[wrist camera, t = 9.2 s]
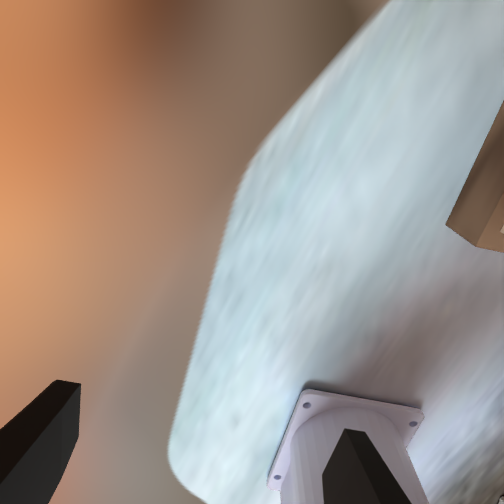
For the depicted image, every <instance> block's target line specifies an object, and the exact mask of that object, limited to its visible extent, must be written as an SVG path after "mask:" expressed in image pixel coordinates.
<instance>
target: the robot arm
mask: <svg viewBox="0 0 504 504" xmlns="http://www.w3.org/2000/svg"><path fill="white" fill-rule="evenodd" d="M80 394H81V384H80V383H74V382H68V381H62V380H56V381H54V382H52V383H51V384H50V385H49V386H48V387H47V388H46V389H45V390H44V391H43V392H42V393H40V394H39V395H38V396H37V397H36V398H35V399H34V400H33V401H32V402H31V403H30V404H29V405H27V406H26V407H25V408H24V409H23V410H22V411H21V412H19V413H18V414H17V415H16V416H15V417H14V418H13V419H12V420H10V421H9V422H8V423H7V424H6V425H5V426H4V427H2V428H1V429H0V504H48V503H49V501H50V499H51V497H52V496H53V494H54V492H55V490H56V488H57V486H58V484H59V482H60V480H61V478H62V476H63V473H64V471H65V469H66V466H67V464H68V461H69V459H70V457H71V454H72V452H73V449H74V447H75V444H76V442H77V439H78V436H79V415H80ZM306 402H309V403H306ZM423 419H424V414H423V412H422V411H421V410H420V409H418V408H413V407H407V406H402V405H396V404H391V403H385V402H379V401H374V400H368V399H363V398H357V397H351V396H346V395H340V394H335V393H329V392H323V391H318V390H312V389H307V390H304V391H302V393H301V394H300V397H299V399H298V402H297V405H296V407H295V410H294V412H293V415H292V417H291V420H290V422H289V425H288V428H287V430H286V433H285V435H284V438H283V440H282V443H281V445H280V448H279V450H278V453H277V456H276V458H275V461H274V463H273V466H272V468H271V471H270V473H269V476H268V479H267V487H268V488H269V489H270V490H275V491H280V496H281V504H429V502H428V500H427V497H426V495H425V493H424V490H423V488H422V486H421V483H420V481H419V478H418V476H417V474H416V471H415V469H414V467H413V464H412V462H411V459H410V457H409V455H408V452H407V450H406V447H407V446H408V444H409V442H410V441H411V439H412V437H413V436H414V434H415V432H416V431H417V429H418V428H419V426H420V424H421V423H422V421H423Z"/></svg>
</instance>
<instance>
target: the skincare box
mask: <svg viewBox="0 0 504 504" xmlns="http://www.w3.org/2000/svg"><path fill="white" fill-rule="evenodd" d="M498 504H504V496H502V497H500V500H499V503H498Z"/></svg>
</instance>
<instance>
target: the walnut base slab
mask: <svg viewBox="0 0 504 504" xmlns="http://www.w3.org/2000/svg"><path fill="white" fill-rule="evenodd" d="M445 225H446V226H448V227H449V228H451V229H452V230H453V231H455V232H456V233H457V234H459V235H460V236H461V237H463V238H464V239H466V240H467V241H468V242H470V243H471V244H472V245H474V246H475V247H479V248H484V249H489V250H494V251H499V252H503V253H504V234H503V233H501V232H500V231H501V229H502V227H503V225H504V101H503V103H502V105H501V107H500V110H499V112H498V114H497V116H496V118H495V120H494V122H493V124H492V127H491V129H490V131H489V133H488V135H487V137H486V139H485V141H484V144H483V146H482V148H481V150H480V152H479V154H478V156H477V158H476V161H475V163H474V165H473V167H472V169H471V171H470V173H469V175H468V178H467V180H466V182H465V184H464V186H463V188H462V190H461V192H460V195H459V197H458V199H457V201H456V203H455V205H454V207H453V209H452V212H451V214H450V216H449V218H448V220H447V222H446V224H445Z"/></svg>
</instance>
